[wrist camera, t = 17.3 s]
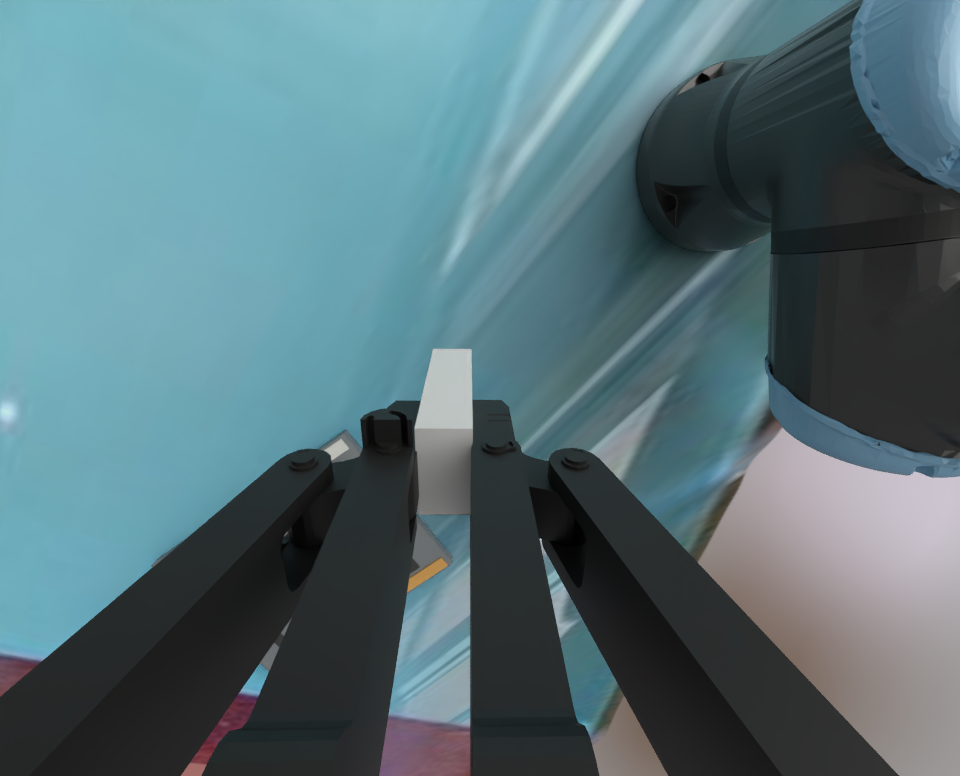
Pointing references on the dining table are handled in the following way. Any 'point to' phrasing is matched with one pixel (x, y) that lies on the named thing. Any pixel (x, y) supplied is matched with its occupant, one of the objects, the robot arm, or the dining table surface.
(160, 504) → the dining table surface
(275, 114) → the dining table surface
